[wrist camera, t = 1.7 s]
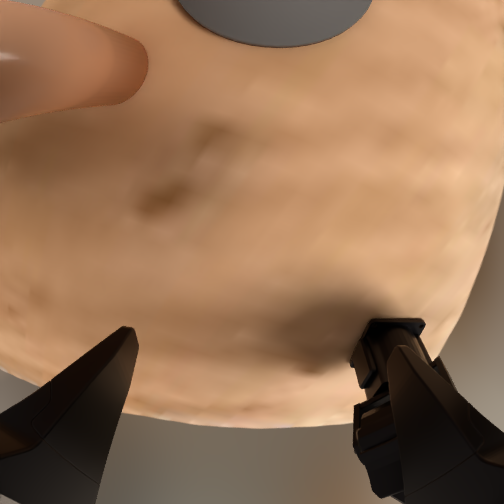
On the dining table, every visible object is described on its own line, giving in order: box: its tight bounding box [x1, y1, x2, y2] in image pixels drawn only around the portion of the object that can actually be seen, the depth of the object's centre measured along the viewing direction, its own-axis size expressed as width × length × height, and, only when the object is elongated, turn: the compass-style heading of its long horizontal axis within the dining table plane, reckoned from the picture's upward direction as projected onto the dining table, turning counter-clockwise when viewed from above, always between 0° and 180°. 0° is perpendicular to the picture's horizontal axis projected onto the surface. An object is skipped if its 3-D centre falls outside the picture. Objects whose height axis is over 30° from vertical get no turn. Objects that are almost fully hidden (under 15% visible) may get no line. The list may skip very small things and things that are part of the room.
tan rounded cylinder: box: [0, 0, 148, 123], centre depth 9 cm, size 5×5×12 cm
